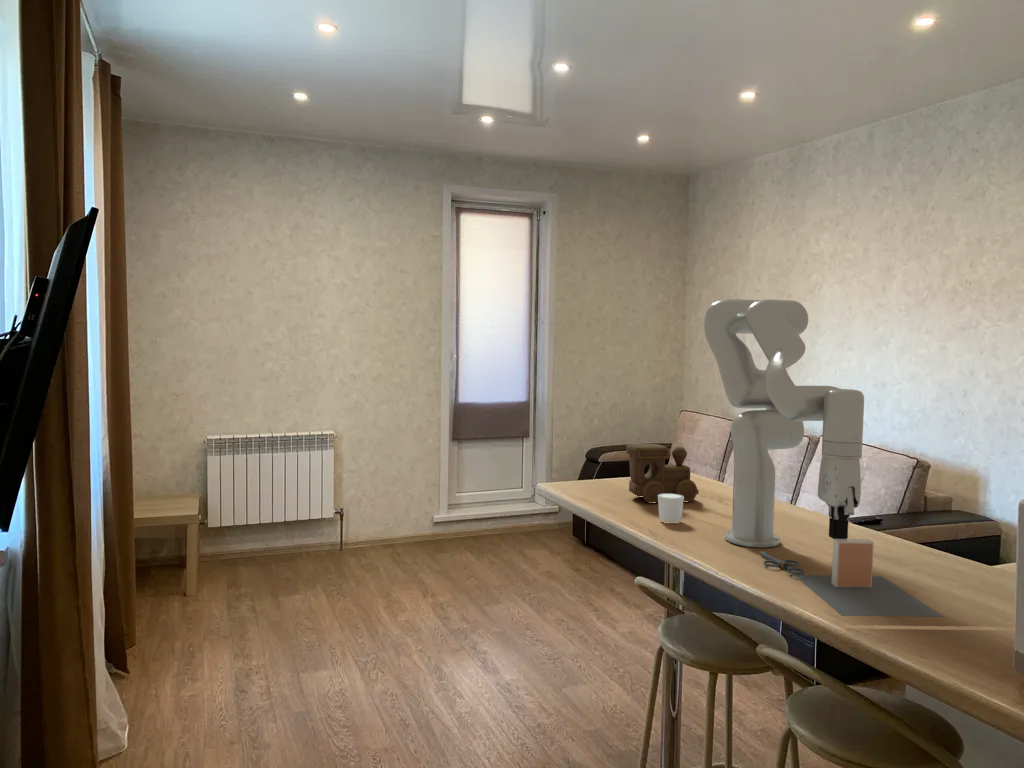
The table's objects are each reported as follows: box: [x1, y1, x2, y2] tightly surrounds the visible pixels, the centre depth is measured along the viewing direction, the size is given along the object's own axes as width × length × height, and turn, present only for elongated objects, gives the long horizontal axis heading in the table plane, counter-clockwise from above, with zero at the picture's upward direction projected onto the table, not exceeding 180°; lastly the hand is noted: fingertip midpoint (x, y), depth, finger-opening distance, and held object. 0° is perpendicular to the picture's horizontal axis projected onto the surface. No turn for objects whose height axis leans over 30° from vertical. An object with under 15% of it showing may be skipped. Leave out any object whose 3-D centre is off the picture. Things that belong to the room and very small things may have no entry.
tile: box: [831, 538, 875, 587], centre depth 146 cm, size 2×7×9 cm, turn 90°
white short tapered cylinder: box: [657, 493, 684, 522], centre depth 198 cm, size 7×7×7 cm
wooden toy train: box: [626, 443, 699, 503], centre depth 223 cm, size 20×11×17 cm, turn 102°
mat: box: [794, 574, 944, 618], centre depth 142 cm, size 22×18×1 cm
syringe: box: [757, 550, 805, 575], centre depth 160 cm, size 8×18×2 cm, turn 9°
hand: (838, 537), depth 153 cm, fingers closed
